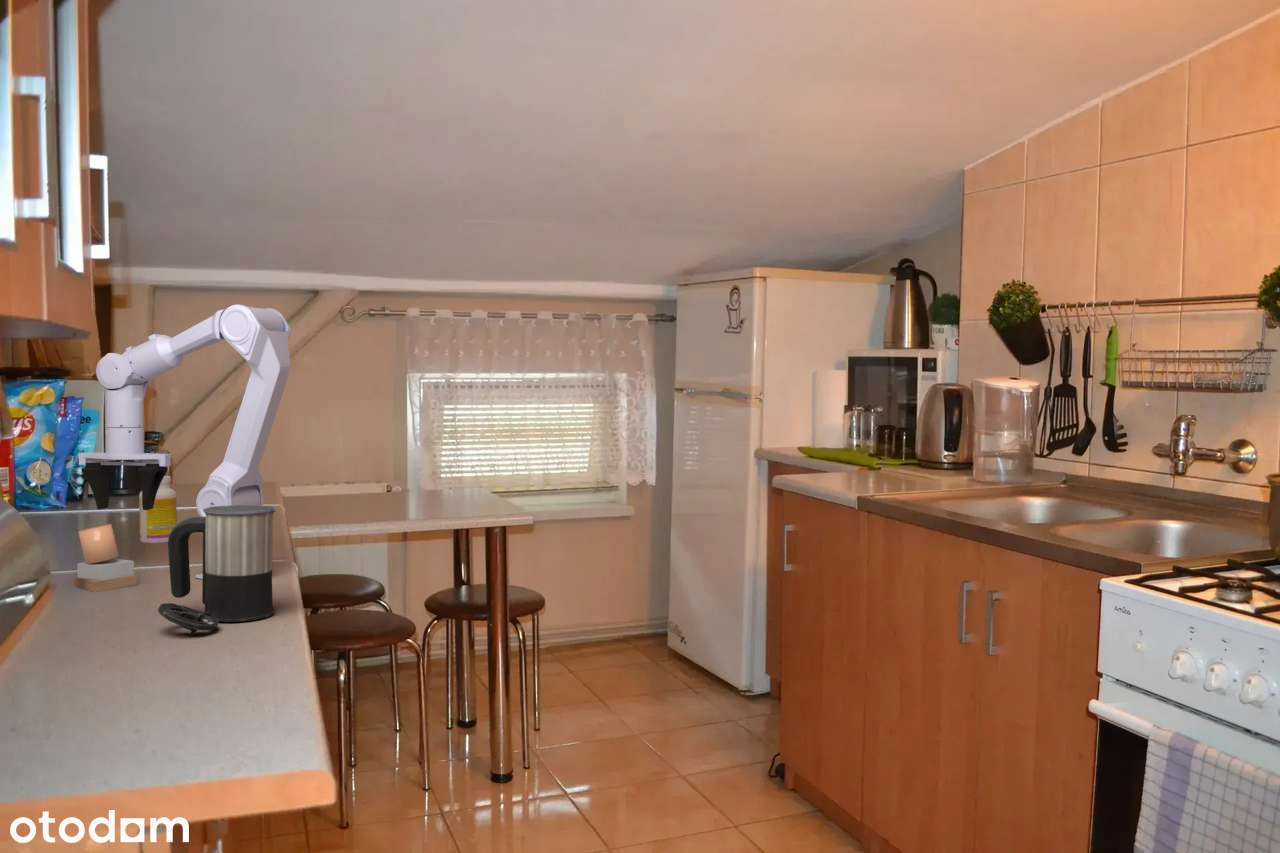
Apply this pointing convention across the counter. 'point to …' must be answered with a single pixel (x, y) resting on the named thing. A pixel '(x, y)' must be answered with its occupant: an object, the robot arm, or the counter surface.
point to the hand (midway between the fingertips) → (125, 509)
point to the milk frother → (224, 566)
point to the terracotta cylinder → (98, 543)
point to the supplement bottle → (159, 515)
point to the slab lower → (105, 583)
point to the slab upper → (106, 569)
